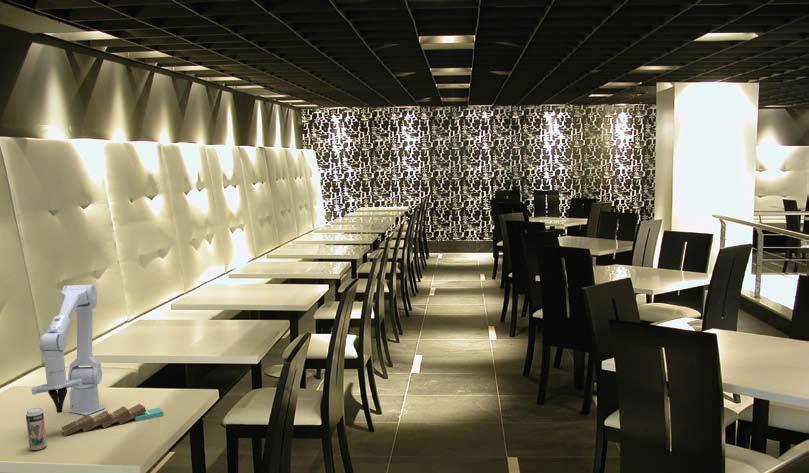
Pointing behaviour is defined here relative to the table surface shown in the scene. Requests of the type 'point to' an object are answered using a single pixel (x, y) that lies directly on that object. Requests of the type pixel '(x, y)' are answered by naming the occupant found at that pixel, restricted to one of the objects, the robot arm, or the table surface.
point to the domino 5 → (149, 414)
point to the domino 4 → (133, 413)
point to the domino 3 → (116, 416)
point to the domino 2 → (98, 420)
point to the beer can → (36, 429)
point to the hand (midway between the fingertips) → (59, 411)
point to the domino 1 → (77, 425)
